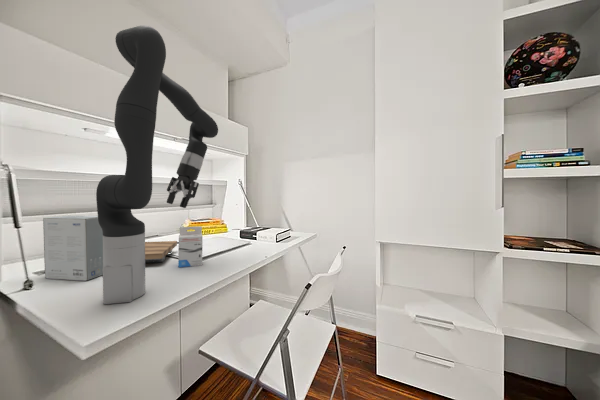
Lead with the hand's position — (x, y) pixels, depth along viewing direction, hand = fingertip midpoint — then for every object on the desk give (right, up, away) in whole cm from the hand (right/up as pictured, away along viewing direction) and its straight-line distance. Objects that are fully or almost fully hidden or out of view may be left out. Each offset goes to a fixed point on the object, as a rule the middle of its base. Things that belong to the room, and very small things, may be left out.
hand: (175, 205), depth 88 cm
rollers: (-15, -23, +9) cm, 29 cm away
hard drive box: (-27, -24, -11) cm, 38 cm away
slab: (-15, -20, +9) cm, 26 cm away
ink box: (+4, -24, +3) cm, 24 cm away
